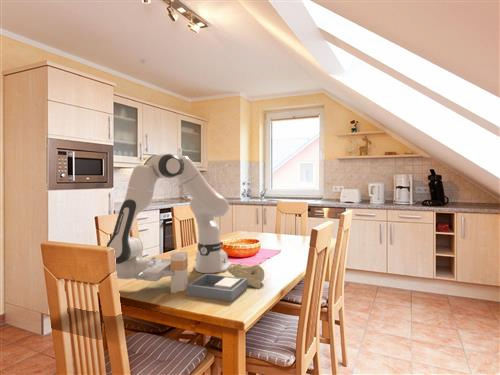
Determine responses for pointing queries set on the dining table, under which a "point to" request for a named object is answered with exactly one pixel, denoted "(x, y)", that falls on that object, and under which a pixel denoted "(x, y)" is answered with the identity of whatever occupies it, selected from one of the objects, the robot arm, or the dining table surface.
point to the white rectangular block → (227, 283)
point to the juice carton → (179, 271)
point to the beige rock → (248, 274)
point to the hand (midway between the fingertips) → (177, 270)
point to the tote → (207, 290)
